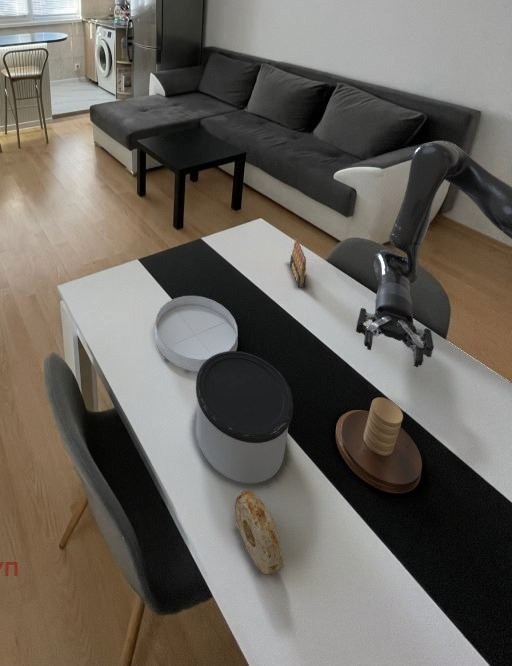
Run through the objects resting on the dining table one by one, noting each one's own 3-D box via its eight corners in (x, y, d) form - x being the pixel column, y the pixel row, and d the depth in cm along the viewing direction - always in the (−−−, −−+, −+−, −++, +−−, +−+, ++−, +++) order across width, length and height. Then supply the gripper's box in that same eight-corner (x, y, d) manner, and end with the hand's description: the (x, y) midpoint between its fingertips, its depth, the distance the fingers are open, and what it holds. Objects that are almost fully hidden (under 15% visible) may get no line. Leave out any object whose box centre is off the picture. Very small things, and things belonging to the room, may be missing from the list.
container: (191, 394, 102) (192, 348, 96) (273, 399, 100) (279, 352, 94) (198, 484, 84) (200, 434, 79) (297, 492, 82) (306, 441, 77)
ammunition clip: (289, 266, 141) (293, 236, 137) (295, 267, 141) (299, 236, 137) (297, 289, 132) (302, 258, 127) (304, 290, 131) (308, 258, 127)
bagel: (228, 518, 79) (231, 484, 75) (245, 509, 80) (249, 476, 76) (264, 590, 70) (269, 556, 66) (283, 580, 71) (289, 546, 67)
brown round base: (418, 440, 90) (422, 429, 88) (421, 514, 78) (425, 502, 77) (338, 405, 97) (341, 395, 96) (330, 468, 86) (332, 456, 84)
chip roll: (393, 437, 87) (403, 405, 84) (393, 461, 83) (403, 428, 80) (364, 424, 90) (372, 392, 86) (362, 446, 86) (370, 414, 82)
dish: (183, 388, 103) (183, 374, 101) (140, 324, 122) (140, 311, 120) (255, 353, 111) (256, 339, 109) (205, 298, 130) (205, 285, 128)
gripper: (362, 283, 106) (357, 329, 93) (433, 304, 98) (438, 356, 86) (358, 307, 108) (352, 354, 96) (426, 328, 101) (429, 383, 88)
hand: (392, 355), depth 91 cm, fingers open, 8 cm apart
